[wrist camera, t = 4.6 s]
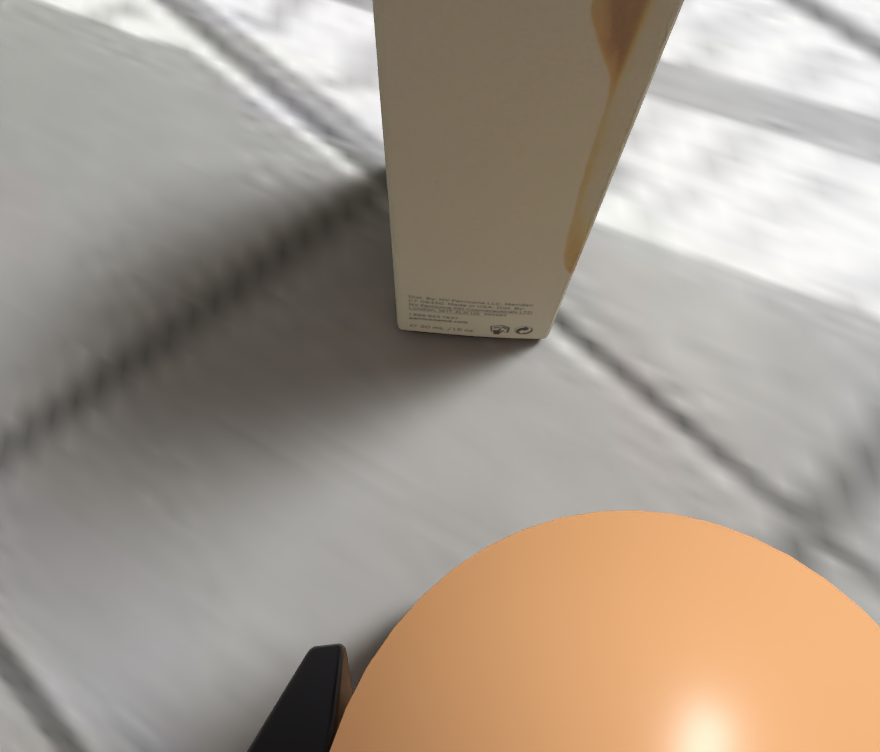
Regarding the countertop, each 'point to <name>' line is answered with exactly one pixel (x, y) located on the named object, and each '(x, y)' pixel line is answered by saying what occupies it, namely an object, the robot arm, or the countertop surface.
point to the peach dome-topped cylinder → (623, 649)
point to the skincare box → (504, 148)
